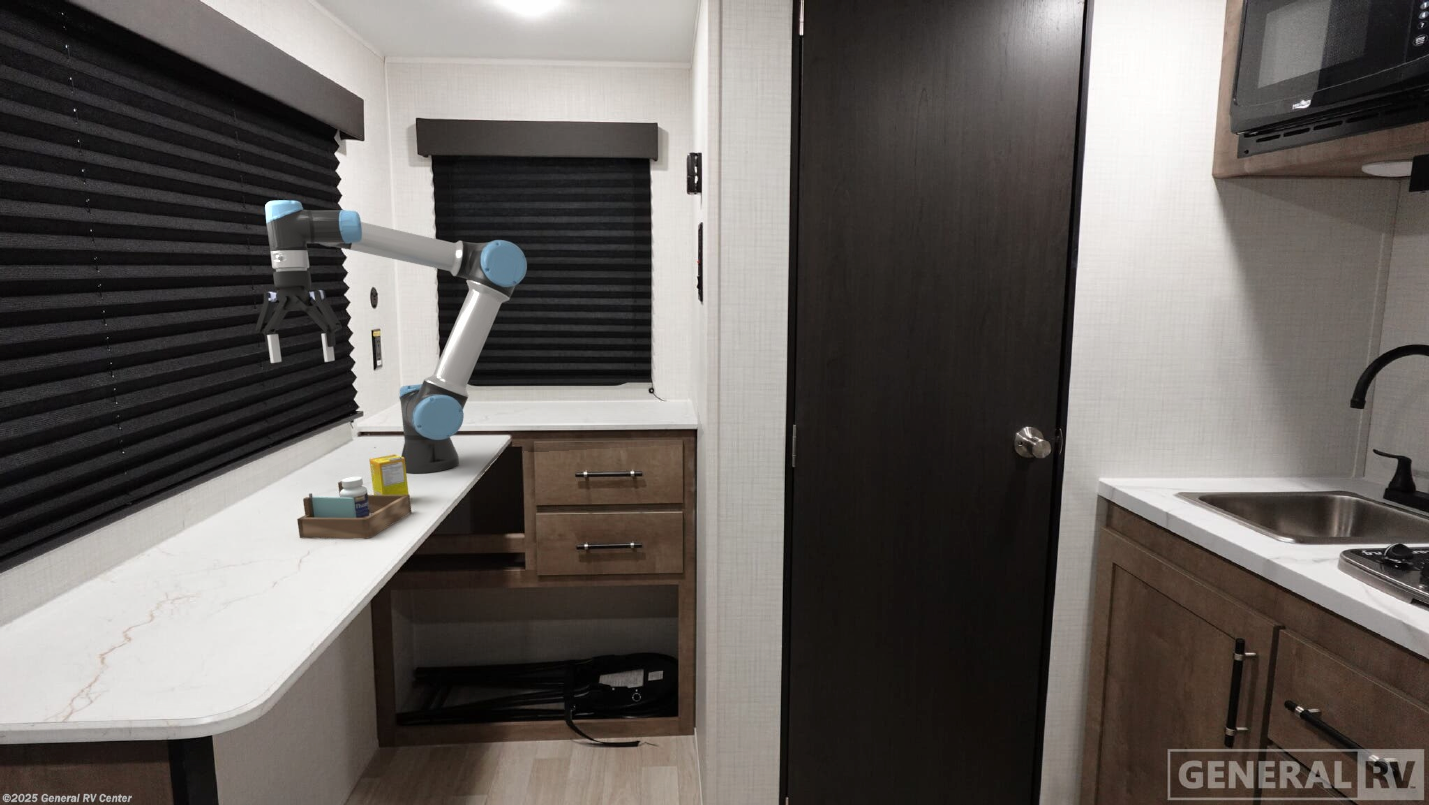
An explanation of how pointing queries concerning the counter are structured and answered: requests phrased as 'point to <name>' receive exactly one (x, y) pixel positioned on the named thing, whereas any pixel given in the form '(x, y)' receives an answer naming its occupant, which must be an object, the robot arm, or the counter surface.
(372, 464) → the supplement box
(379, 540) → the counter surface
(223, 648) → the counter surface
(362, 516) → the pill bottle
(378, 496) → the wooden square frame
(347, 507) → the teal rectangular panel
